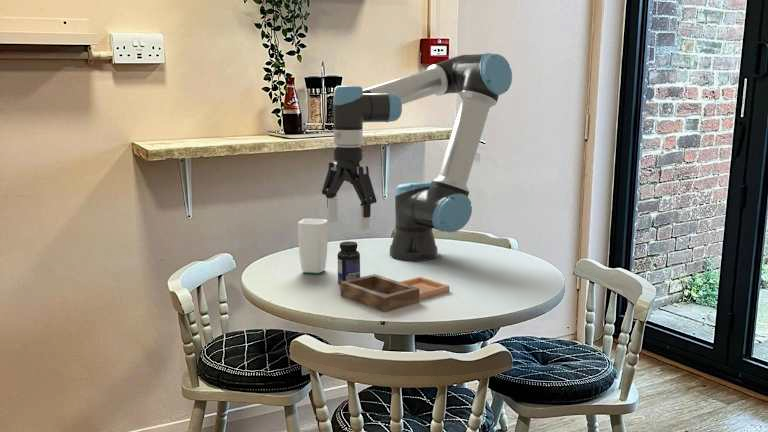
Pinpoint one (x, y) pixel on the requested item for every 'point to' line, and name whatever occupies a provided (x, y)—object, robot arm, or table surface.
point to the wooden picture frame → (363, 293)
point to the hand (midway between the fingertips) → (348, 225)
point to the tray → (427, 287)
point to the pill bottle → (348, 261)
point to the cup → (313, 244)
